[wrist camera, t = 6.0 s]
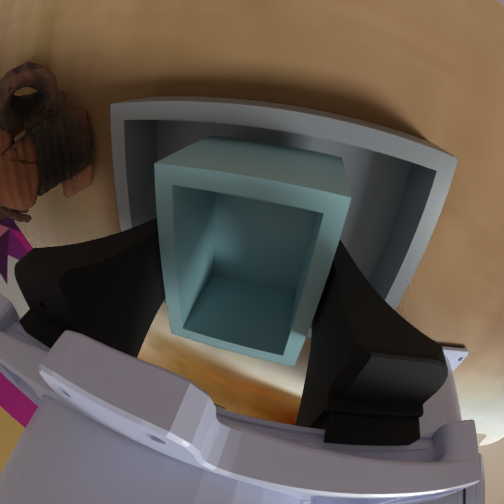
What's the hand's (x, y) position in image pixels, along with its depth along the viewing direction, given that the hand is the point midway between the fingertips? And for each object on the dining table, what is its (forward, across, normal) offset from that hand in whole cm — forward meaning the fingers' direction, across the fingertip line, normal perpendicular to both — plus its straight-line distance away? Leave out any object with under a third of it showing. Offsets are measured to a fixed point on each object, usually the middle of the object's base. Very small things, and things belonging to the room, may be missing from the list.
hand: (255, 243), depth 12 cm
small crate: (+2, 0, 0) cm, 2 cm away
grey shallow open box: (+4, 0, 0) cm, 4 cm away
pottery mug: (+4, +16, -4) cm, 17 cm away
